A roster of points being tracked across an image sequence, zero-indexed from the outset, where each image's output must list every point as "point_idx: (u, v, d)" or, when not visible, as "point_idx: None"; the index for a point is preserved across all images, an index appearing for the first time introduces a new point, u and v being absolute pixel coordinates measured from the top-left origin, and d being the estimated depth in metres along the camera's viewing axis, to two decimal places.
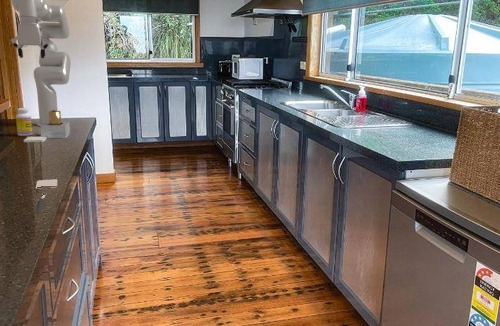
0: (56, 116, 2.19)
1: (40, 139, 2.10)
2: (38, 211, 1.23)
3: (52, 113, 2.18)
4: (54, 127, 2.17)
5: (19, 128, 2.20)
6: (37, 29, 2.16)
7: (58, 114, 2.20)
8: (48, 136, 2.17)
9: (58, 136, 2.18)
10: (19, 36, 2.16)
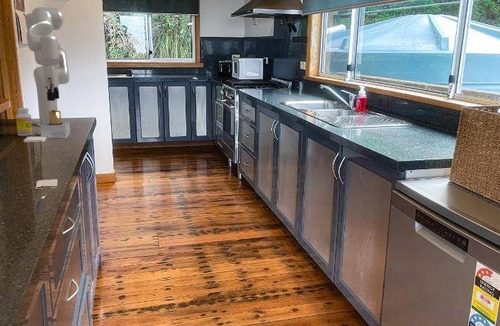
0: (56, 116, 2.19)
1: (40, 139, 2.10)
2: (38, 211, 1.23)
3: (52, 113, 2.18)
4: (54, 127, 2.17)
5: (19, 128, 2.20)
6: None
7: (58, 114, 2.20)
8: (48, 136, 2.17)
9: (58, 136, 2.18)
10: (54, 79, 2.13)
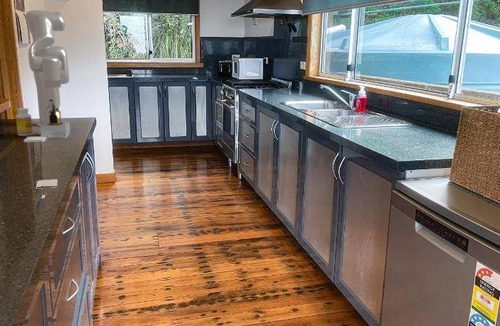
0: None
1: (40, 139, 2.10)
2: (38, 211, 1.23)
3: None
4: (54, 127, 2.17)
5: (19, 128, 2.20)
6: None
7: (58, 114, 2.20)
8: (48, 136, 2.17)
9: (58, 136, 2.18)
10: (56, 100, 2.16)
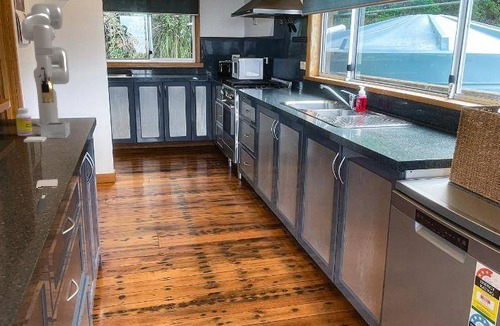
0: None
1: (40, 139, 2.10)
2: (38, 211, 1.23)
3: None
4: (54, 127, 2.17)
5: (19, 128, 2.20)
6: None
7: (50, 83, 2.13)
8: (48, 136, 2.17)
9: (58, 136, 2.18)
10: (48, 69, 2.09)
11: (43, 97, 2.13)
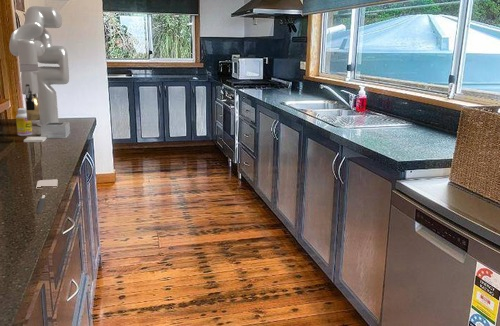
0: None
1: (40, 139, 2.10)
2: (38, 211, 1.23)
3: None
4: (54, 127, 2.17)
5: (19, 128, 2.20)
6: None
7: (36, 100, 2.06)
8: (48, 136, 2.17)
9: (58, 136, 2.18)
10: (33, 85, 2.02)
11: (28, 114, 2.07)
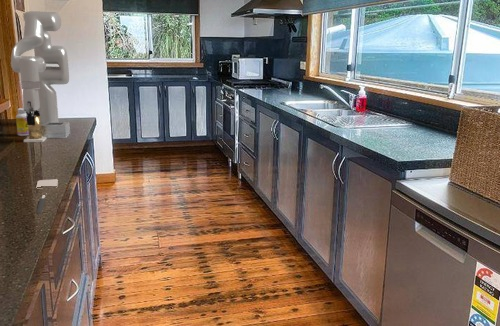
0: (35, 122, 2.08)
1: (40, 139, 2.10)
2: (38, 211, 1.23)
3: None
4: (54, 127, 2.17)
5: (19, 128, 2.20)
6: (38, 93, 2.11)
7: (37, 119, 2.09)
8: (48, 136, 2.17)
9: (58, 136, 2.18)
10: (34, 102, 2.04)
11: (30, 133, 2.09)
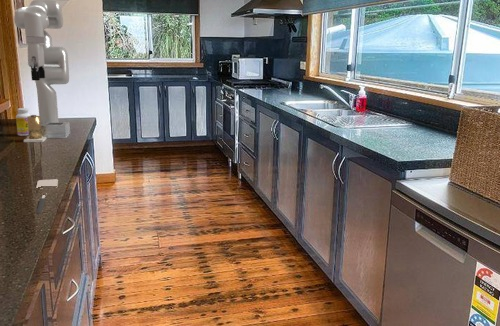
0: (35, 122, 2.08)
1: (40, 139, 2.10)
2: (38, 211, 1.23)
3: (31, 118, 2.07)
4: (54, 127, 2.17)
5: (19, 128, 2.20)
6: None
7: (37, 119, 2.09)
8: (48, 136, 2.17)
9: (58, 136, 2.18)
10: (39, 58, 2.05)
11: (30, 133, 2.09)
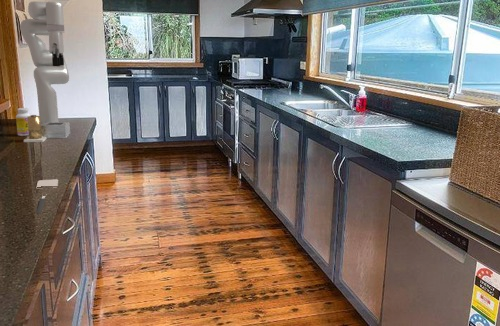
0: (35, 122, 2.08)
1: (40, 139, 2.10)
2: (38, 211, 1.23)
3: (31, 118, 2.07)
4: (54, 127, 2.17)
5: (19, 128, 2.20)
6: None
7: (37, 119, 2.09)
8: (48, 136, 2.17)
9: (58, 136, 2.18)
10: (59, 45, 2.17)
11: (30, 133, 2.09)
